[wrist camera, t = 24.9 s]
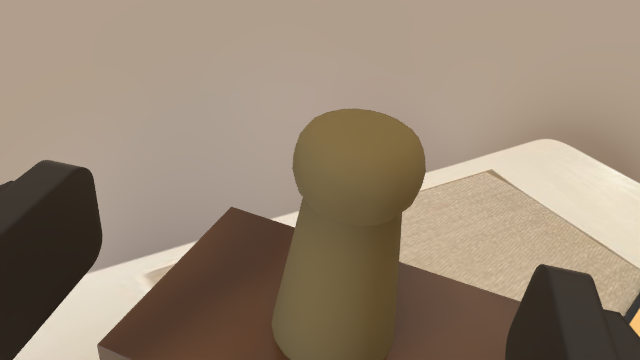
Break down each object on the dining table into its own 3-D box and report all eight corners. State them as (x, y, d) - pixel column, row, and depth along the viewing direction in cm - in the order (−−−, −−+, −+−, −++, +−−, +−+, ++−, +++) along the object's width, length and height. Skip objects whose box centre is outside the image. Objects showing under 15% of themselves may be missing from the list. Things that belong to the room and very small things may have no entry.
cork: (358, 401, 23) (406, 187, 17) (245, 335, 25) (251, 127, 19) (413, 314, 27) (466, 121, 21) (313, 265, 30) (335, 79, 24)
